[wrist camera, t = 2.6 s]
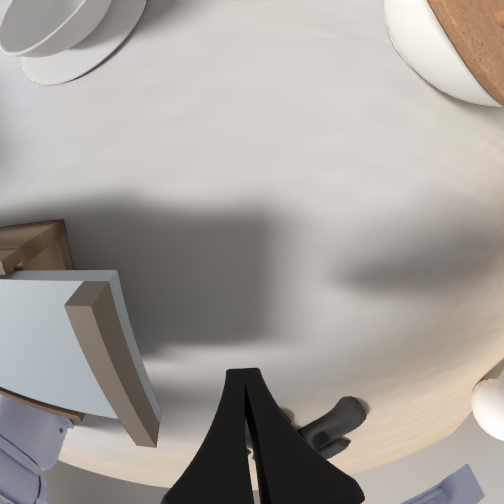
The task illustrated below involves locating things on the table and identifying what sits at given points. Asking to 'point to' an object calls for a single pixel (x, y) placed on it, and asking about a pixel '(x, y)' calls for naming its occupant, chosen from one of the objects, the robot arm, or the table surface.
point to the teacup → (65, 35)
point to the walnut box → (36, 259)
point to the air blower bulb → (489, 406)
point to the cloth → (329, 428)
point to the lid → (75, 347)
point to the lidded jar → (452, 45)
